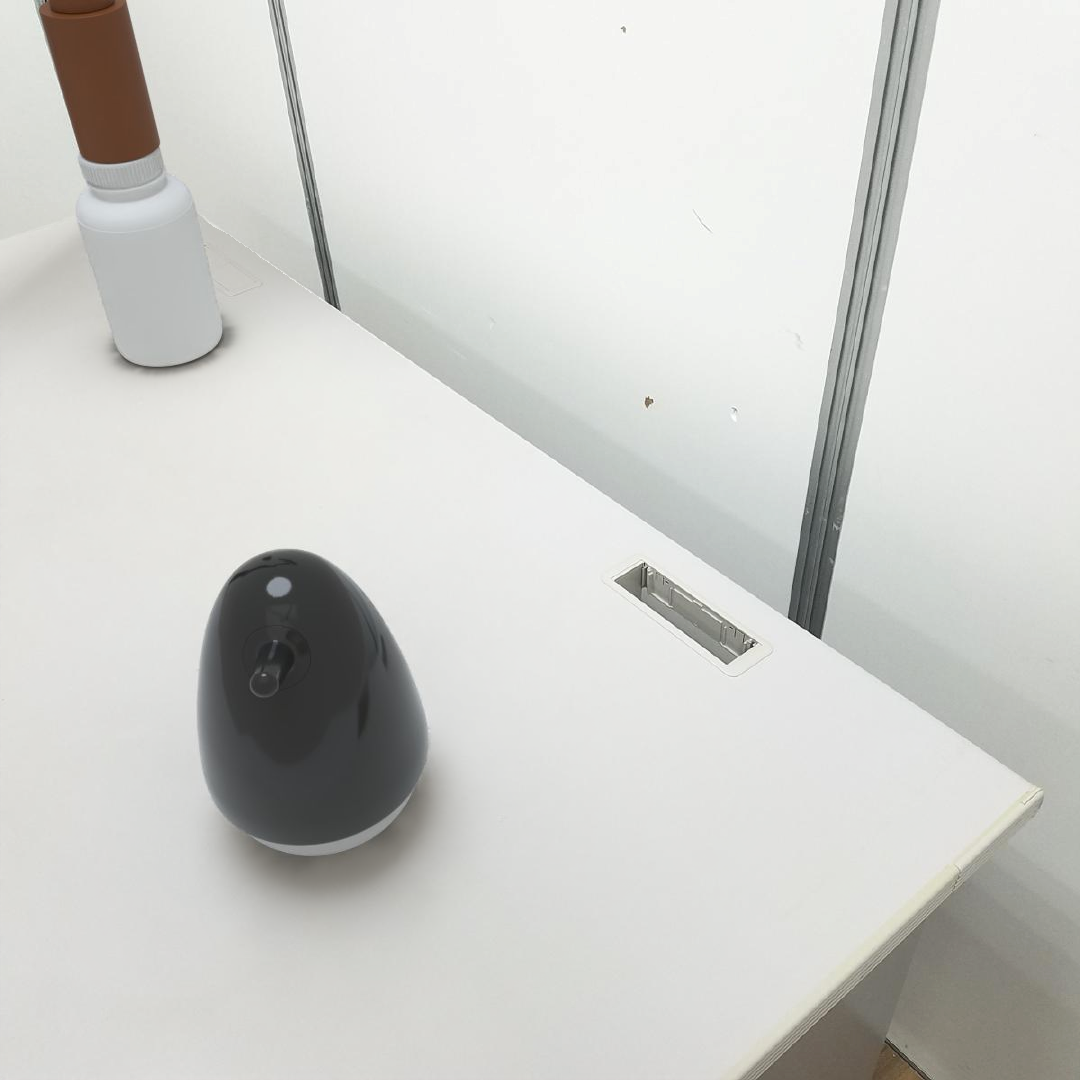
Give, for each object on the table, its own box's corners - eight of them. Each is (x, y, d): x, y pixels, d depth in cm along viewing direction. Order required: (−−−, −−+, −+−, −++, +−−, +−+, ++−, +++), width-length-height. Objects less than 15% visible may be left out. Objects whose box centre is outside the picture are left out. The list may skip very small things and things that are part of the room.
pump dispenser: (203, 901, 51) (113, 674, 41) (239, 719, 59) (171, 490, 49) (432, 891, 51) (398, 662, 41) (437, 710, 59) (411, 481, 49)
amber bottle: (63, 156, 75) (3, -41, 67) (113, 127, 79) (62, -64, 71) (128, 168, 74) (75, -33, 66) (176, 137, 77) (131, -56, 69)
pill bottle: (96, 363, 84) (33, 167, 74) (149, 308, 90) (97, 120, 80) (195, 376, 83) (144, 178, 73) (242, 320, 88) (201, 129, 78)
